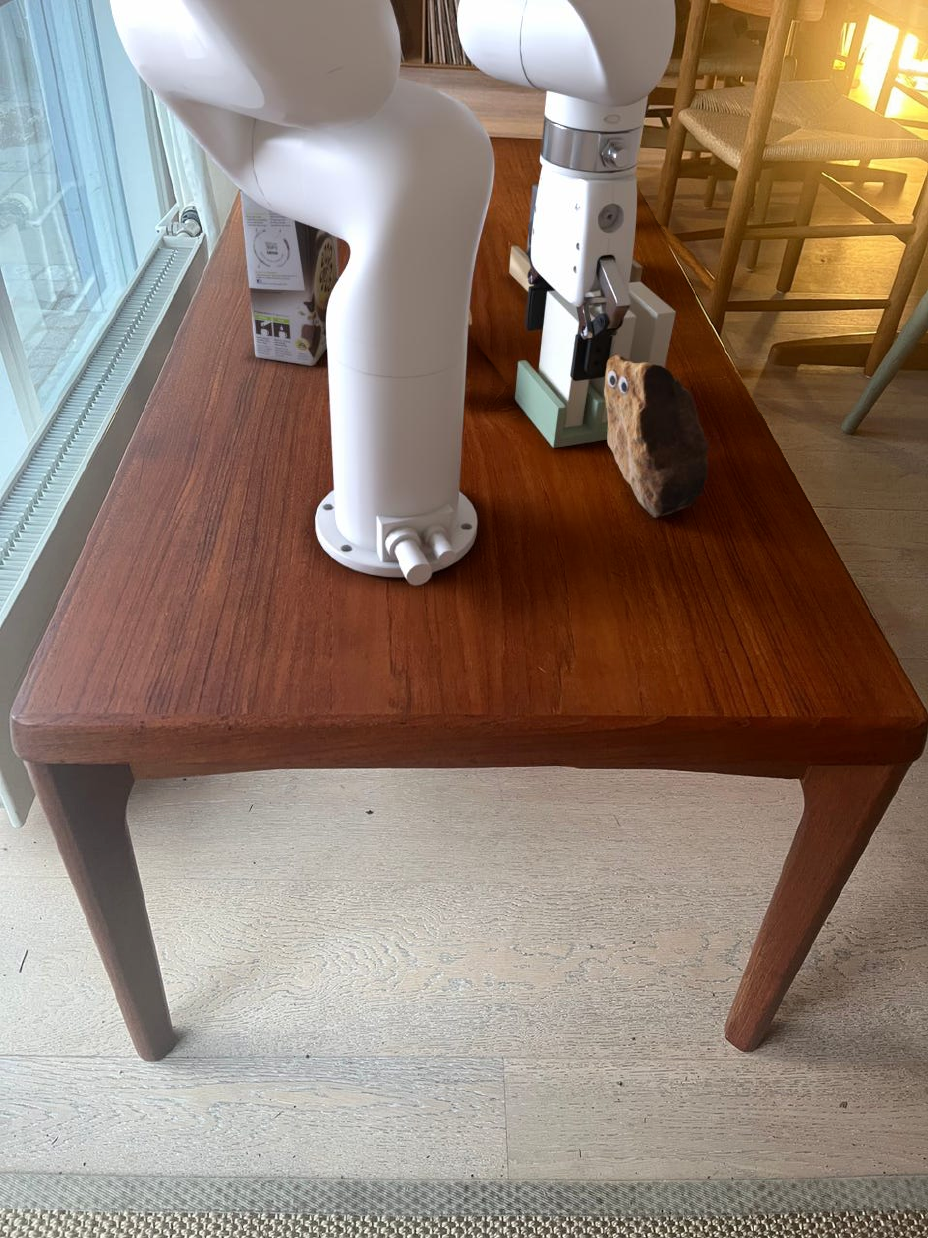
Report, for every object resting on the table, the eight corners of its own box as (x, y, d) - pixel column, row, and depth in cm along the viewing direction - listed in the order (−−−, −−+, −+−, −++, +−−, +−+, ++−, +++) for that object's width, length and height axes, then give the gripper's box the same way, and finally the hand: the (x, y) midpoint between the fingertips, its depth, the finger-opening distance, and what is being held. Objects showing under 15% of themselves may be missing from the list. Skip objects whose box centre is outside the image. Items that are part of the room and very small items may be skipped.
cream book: (553, 391, 92) (565, 288, 86) (582, 425, 88) (598, 320, 81) (535, 393, 92) (546, 290, 85) (564, 428, 87) (578, 322, 81)
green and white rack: (628, 383, 96) (647, 274, 89) (673, 428, 90) (697, 316, 83) (514, 399, 93) (525, 287, 86) (553, 448, 87) (568, 332, 79)
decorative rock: (582, 442, 86) (606, 331, 78) (642, 433, 88) (671, 324, 80) (644, 528, 78) (677, 415, 71) (709, 517, 80) (748, 405, 73)
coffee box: (316, 367, 96) (306, 197, 85) (253, 358, 96) (236, 189, 86) (343, 327, 102) (337, 165, 92) (284, 319, 103) (271, 158, 92)
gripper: (690, 178, 70) (648, 393, 81) (585, 110, 82) (561, 306, 93) (596, 184, 68) (566, 405, 79) (502, 114, 79) (488, 314, 91)
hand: (563, 351), depth 86 cm, fingers open, 9 cm apart
